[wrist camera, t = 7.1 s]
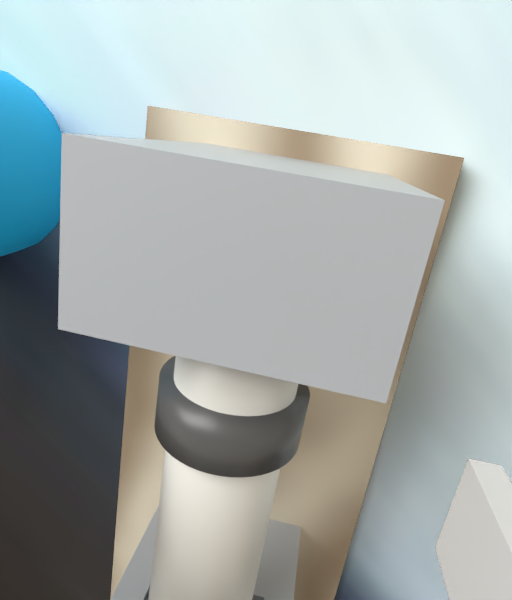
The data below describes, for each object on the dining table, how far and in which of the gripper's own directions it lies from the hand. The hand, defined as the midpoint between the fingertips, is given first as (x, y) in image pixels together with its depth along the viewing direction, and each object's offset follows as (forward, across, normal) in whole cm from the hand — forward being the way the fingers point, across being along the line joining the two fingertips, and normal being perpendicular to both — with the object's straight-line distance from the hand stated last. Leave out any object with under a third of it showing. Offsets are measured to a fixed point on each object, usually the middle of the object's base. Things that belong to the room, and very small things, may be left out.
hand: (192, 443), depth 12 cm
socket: (+9, +1, +5) cm, 10 cm away
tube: (+4, +1, -3) cm, 5 cm away
